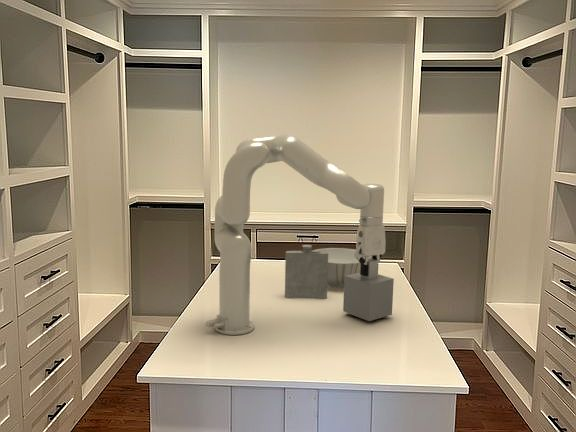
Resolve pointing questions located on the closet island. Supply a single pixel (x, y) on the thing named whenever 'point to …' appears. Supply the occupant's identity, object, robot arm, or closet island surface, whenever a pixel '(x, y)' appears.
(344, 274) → the decorative bowl
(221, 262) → the robot arm
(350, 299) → the grey stepped block
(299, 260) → the hip flask
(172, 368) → the closet island surface
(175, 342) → the closet island surface
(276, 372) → the closet island surface
